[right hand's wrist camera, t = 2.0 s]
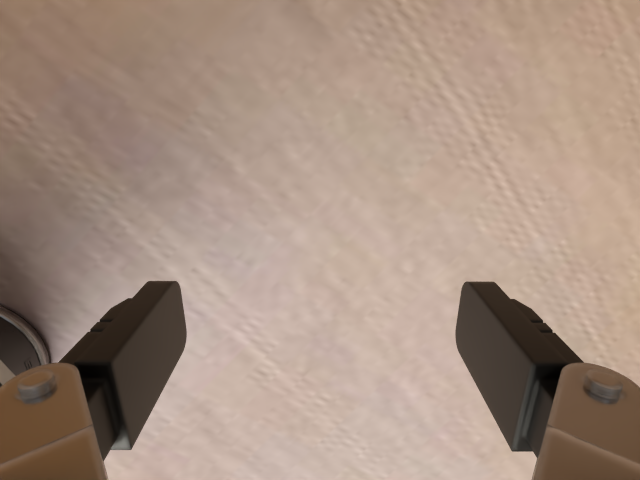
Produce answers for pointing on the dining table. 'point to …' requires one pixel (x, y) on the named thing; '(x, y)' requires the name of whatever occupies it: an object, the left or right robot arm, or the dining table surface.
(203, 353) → the dining table surface
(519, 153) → the dining table surface
